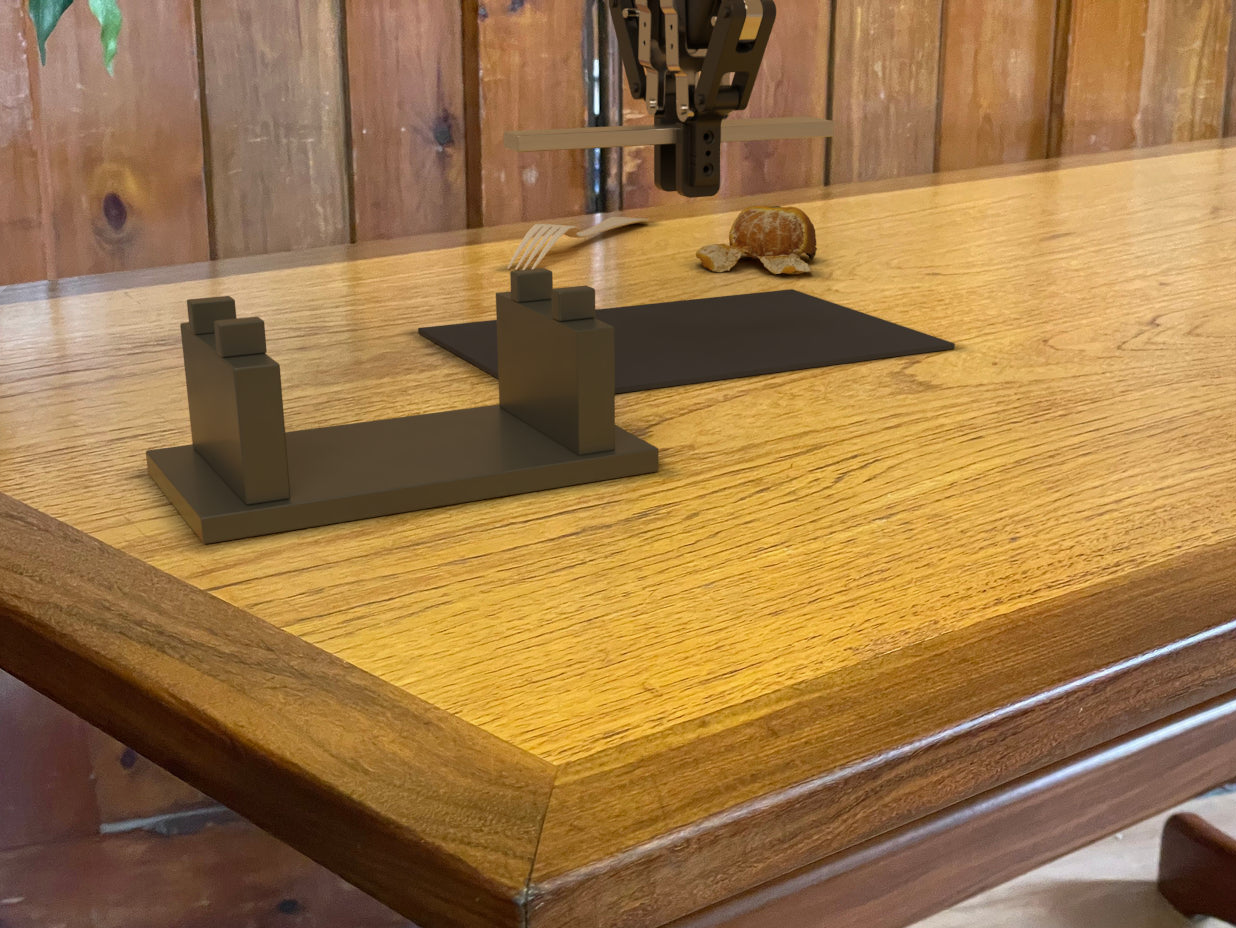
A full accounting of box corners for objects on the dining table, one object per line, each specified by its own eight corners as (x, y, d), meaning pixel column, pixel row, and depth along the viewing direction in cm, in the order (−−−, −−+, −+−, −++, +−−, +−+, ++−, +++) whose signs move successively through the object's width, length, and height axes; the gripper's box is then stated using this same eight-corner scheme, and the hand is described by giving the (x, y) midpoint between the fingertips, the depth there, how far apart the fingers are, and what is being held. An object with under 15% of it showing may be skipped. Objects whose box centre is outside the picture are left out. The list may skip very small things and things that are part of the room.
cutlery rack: (203, 545, 56) (182, 342, 53) (147, 474, 63) (127, 293, 61) (659, 471, 65) (659, 294, 62) (564, 417, 72) (560, 256, 69)
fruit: (686, 268, 105) (686, 212, 104) (731, 248, 112) (732, 195, 111) (806, 279, 102) (808, 221, 101) (844, 258, 110) (847, 204, 108)
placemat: (540, 403, 74) (540, 397, 74) (418, 333, 87) (417, 327, 87) (954, 348, 85) (955, 343, 85) (792, 293, 98) (792, 289, 98)
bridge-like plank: (521, 153, 77) (520, 136, 76) (500, 147, 79) (499, 130, 78) (834, 136, 85) (834, 121, 85) (807, 131, 87) (808, 115, 87)
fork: (653, 254, 123) (654, 217, 122) (539, 271, 103) (540, 227, 103) (619, 251, 124) (620, 215, 123) (499, 268, 104) (500, 224, 104)
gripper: (557, -169, 81) (564, 180, 87) (690, -185, 70) (688, 217, 76) (687, -162, 85) (685, 173, 91) (833, -176, 73) (820, 206, 80)
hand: (686, 191), depth 83 cm, fingers closed on bridge-like plank
